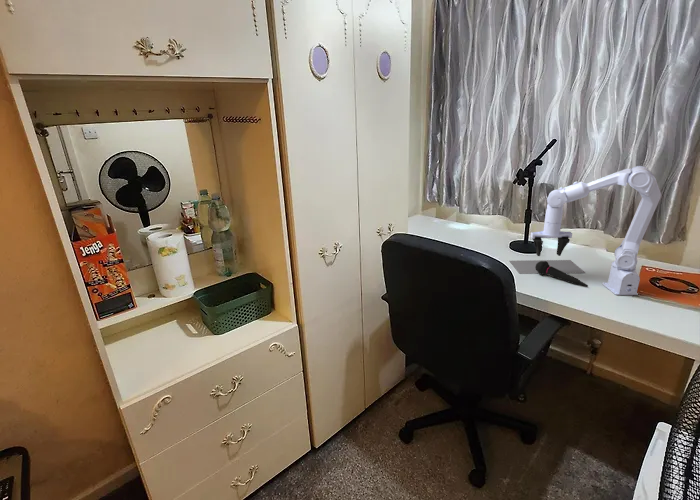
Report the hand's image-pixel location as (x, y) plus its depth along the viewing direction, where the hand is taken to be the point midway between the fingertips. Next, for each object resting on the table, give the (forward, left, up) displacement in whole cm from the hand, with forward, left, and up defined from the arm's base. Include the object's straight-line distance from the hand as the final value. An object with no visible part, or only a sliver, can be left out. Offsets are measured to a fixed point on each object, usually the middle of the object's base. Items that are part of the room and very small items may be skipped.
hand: (548, 255), depth 150 cm
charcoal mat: (+10, -4, -9) cm, 14 cm away
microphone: (-3, -4, -10) cm, 11 cm away
